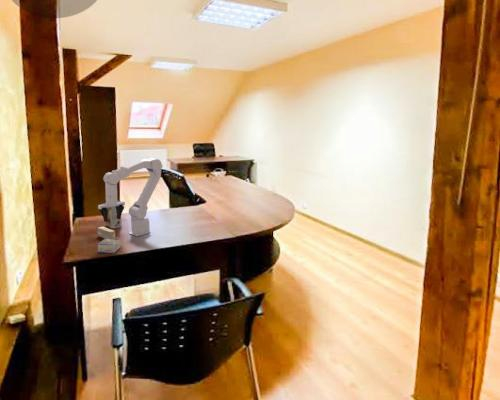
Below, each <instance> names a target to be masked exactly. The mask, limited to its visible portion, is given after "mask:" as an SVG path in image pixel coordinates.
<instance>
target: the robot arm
mask: <svg viewBox="0 0 500 400" xmlns="http://www.w3.org/2000/svg"><path fill="white" fill-rule="evenodd" d="M162 168H163V164H162V161H161V160H160V159H158V158H152V157H146V158H143V159H142V160H139V161H137V162H135V163H133V164H132V165H129V166H123V165H121V166H119V168H117V169H114V170H112V171H111V172H109V171H108V172H106V173H105V174H104V175H103V177H102V180H103V182H104V183H105V186H104V187H105V199H106V203H105V202H104V203H102V204H98V205H97V209H98V210H99V212H100V214H101V216H102V218H103V221H104V222H105V223H106V222H107V221H108V217H107V216H108V210H107V209H106V208H109V207H116V212H117V219H120V218H121V219H122V214H123V211H124V210H125V205H126V202H125V201H121V202H117V200H118V183H119V182H120V181H122V180H123V179H126V178H128V177H130V176H131V174H132V173H134V172H136V171H139V170H142V169H146V170H147V172H148V174H149V178H148V180H147V182H146V183H145V185H144V187H143V190H142V191H141V193H140V195H139V197H138V200H136V201H135V202H133V204H132V205H131V206H130V207H129V209H128V214H129V215H130V220H131V221H130V222H131V231H129V232H128V234H130V235H132V236H135V237H139V236H142V235H147V234H151V230H150V220H149V218H148V217H147V211H148V209H149V208H148V204H149V201H150V199H151V198H152V197H151V196H152V195H153V193H154V191H155V188H156V187H157V186H158V183H159V181H160V180H161V176H162Z"/></svg>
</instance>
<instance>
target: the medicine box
mask: <svg viewBox="0 0 500 400" xmlns="http://www.w3.org/2000/svg"><path fill="white" fill-rule="evenodd" d="M120 248H121V239H119V238H117V239H116V238H115V239H104V238H103V240H101V241H100V242H99V243H97V253H107V254H114V253H116V252H117V251H118V250H119V249H120Z"/></svg>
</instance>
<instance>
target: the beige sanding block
mask: <svg viewBox="0 0 500 400" xmlns="http://www.w3.org/2000/svg"><path fill="white" fill-rule="evenodd" d="M97 237H99V238H102V239H103V240H104V239H116V231H115V230H113V229H112V228H108V227H105V226H99V227H97Z"/></svg>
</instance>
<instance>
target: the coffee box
mask: <svg viewBox="0 0 500 400" xmlns="http://www.w3.org/2000/svg"><path fill="white" fill-rule="evenodd" d="M117 202H122V201H121V200H119V199H117ZM105 203H106V198H105V199H104V204H105ZM106 209H107V210H108V216H107V217H108V221H107V222H105V224H106V226H108V227H109V229H117V228H122V226H123V225H122V217H121V218H120V219H117V212H116V207H109V208H106Z"/></svg>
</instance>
